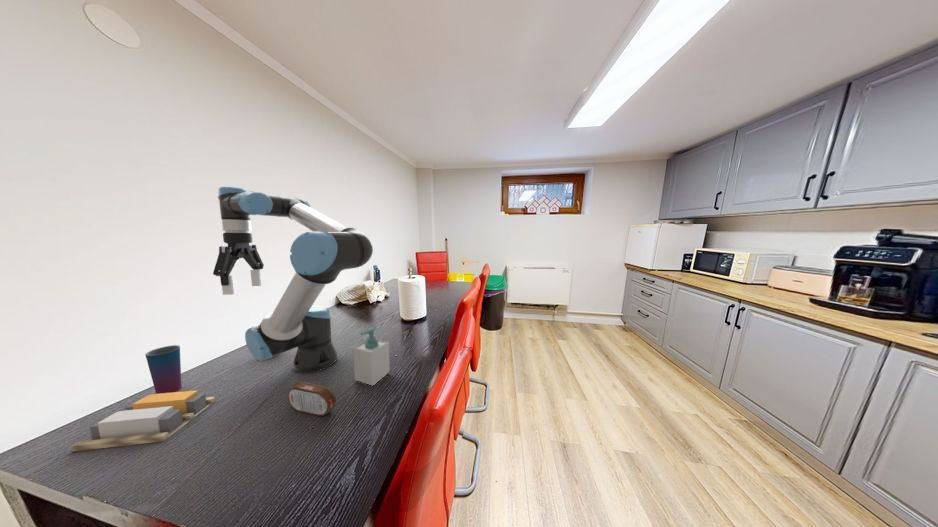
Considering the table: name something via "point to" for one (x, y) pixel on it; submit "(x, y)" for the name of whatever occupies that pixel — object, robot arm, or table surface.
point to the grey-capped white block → (137, 423)
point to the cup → (165, 368)
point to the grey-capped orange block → (172, 401)
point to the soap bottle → (371, 359)
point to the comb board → (137, 438)
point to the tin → (311, 398)
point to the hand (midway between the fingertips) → (243, 289)
